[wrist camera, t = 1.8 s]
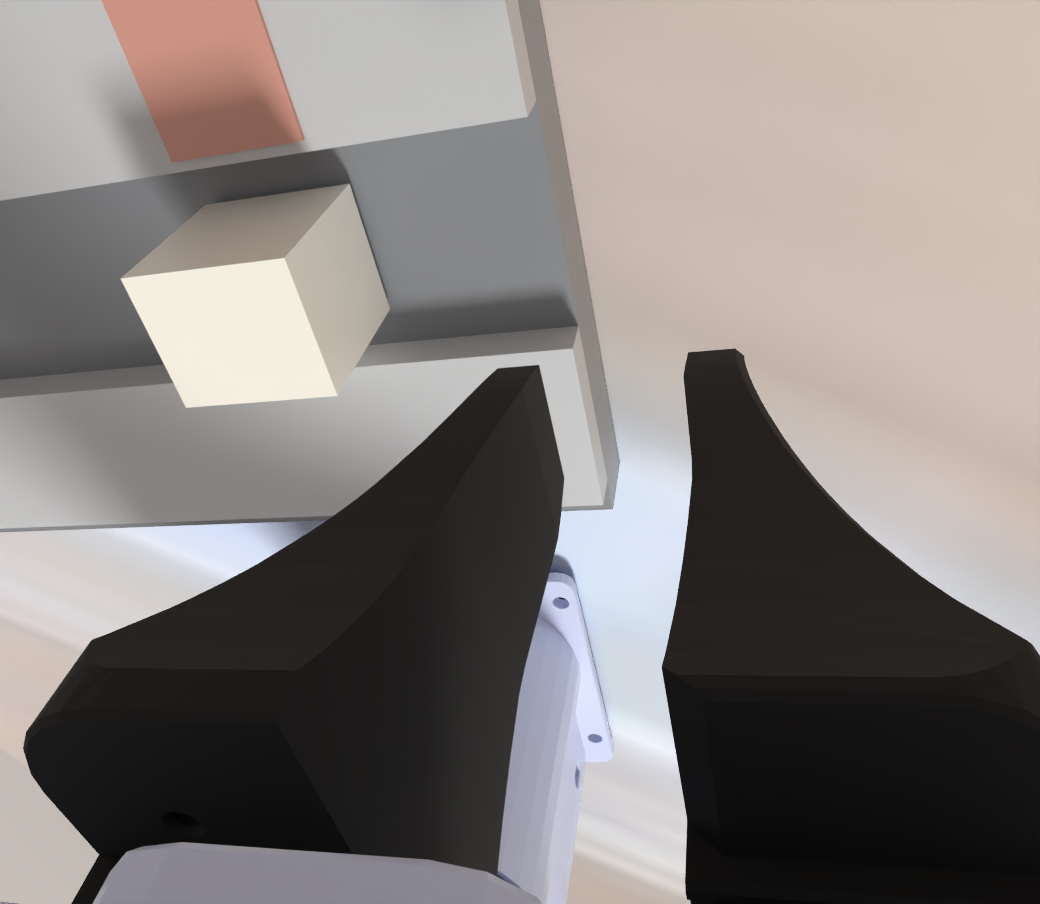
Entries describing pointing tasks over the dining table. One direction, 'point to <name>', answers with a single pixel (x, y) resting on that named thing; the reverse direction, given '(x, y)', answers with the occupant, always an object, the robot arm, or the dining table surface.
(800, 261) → the dining table surface
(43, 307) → the breaker panel
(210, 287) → the switch
